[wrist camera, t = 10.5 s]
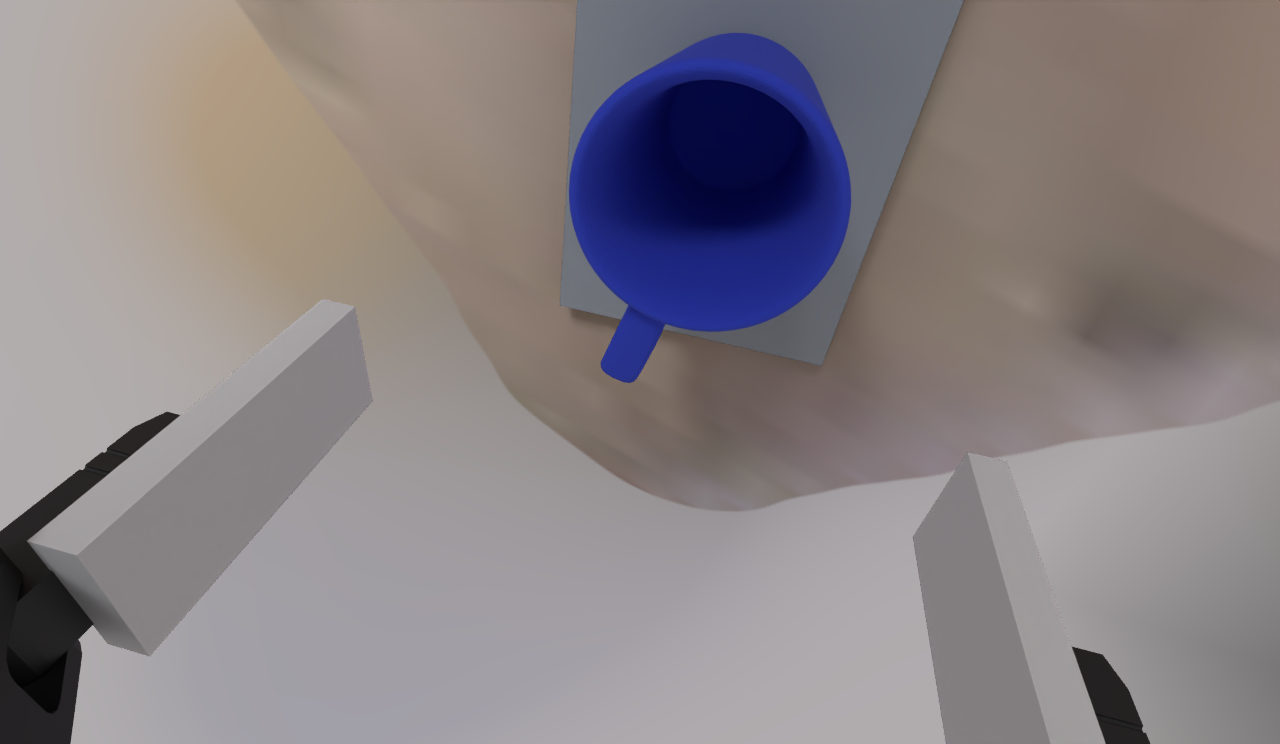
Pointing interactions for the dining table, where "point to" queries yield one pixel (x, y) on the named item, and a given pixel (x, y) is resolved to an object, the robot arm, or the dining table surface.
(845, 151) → the board
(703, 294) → the mug
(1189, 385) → the dining table surface
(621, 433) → the dining table surface
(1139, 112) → the dining table surface
